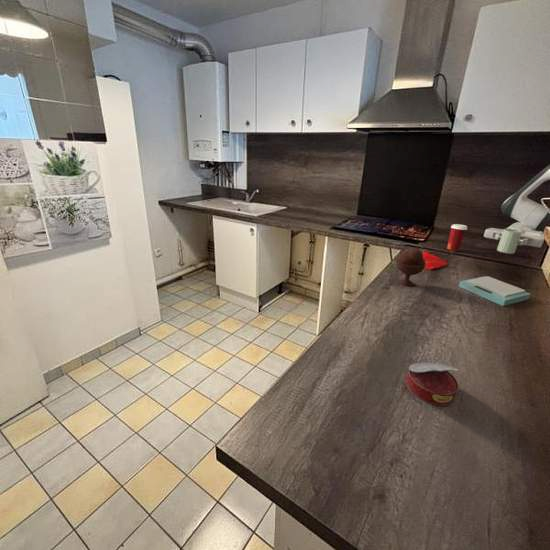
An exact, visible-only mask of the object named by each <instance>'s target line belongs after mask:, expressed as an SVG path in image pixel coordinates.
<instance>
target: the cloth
mask: <svg viewBox="0 0 550 550" xmlns="http://www.w3.org/2000/svg"><path fill="white" fill-rule="evenodd" d="M422 253H423V258H424V261H425V263H426V265H425V268H424V270H431V271H432V270H436V269H439V268H443V267H446V266H448V262H447V261H445V260H444V259H441V258H440V257H439V256H436V255H434V254H431V252H429V251H423V252H422Z"/></svg>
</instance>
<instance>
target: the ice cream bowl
mask: <svg viewBox="0 0 550 550" xmlns="http://www.w3.org/2000/svg"><path fill="white" fill-rule="evenodd" d="M395 265H396V268H397V269H398V270H399V271H400V272H401V273H402V274H404V278H402V279H399V281H398V284H399V285H400V286H404V287H413V286H414V282H413V281H411V280H410V277H411V276H414V275H418V274H420V273H422V272H423V271H424V270H425V265H426V263H425V261H424V258H423V252H422V251H421V249H419V248H411V249H410V250H406V251H402V252H401V253H400V254H399V255H398V257H397V258H396V259H395Z"/></svg>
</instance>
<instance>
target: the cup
mask: <svg viewBox="0 0 550 550" xmlns="http://www.w3.org/2000/svg"><path fill="white" fill-rule="evenodd" d="M521 235H522V231H520V230H515V229H507V228H503V233H502V236H501V239H500V240H499V242H498V245H497V248H496V251H497V252H499V253H503V254H509V255H510V254H511V255H512V254H515V253H516V250H517V248H518V246H519V245H518V242H519V240H520V237H521Z"/></svg>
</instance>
